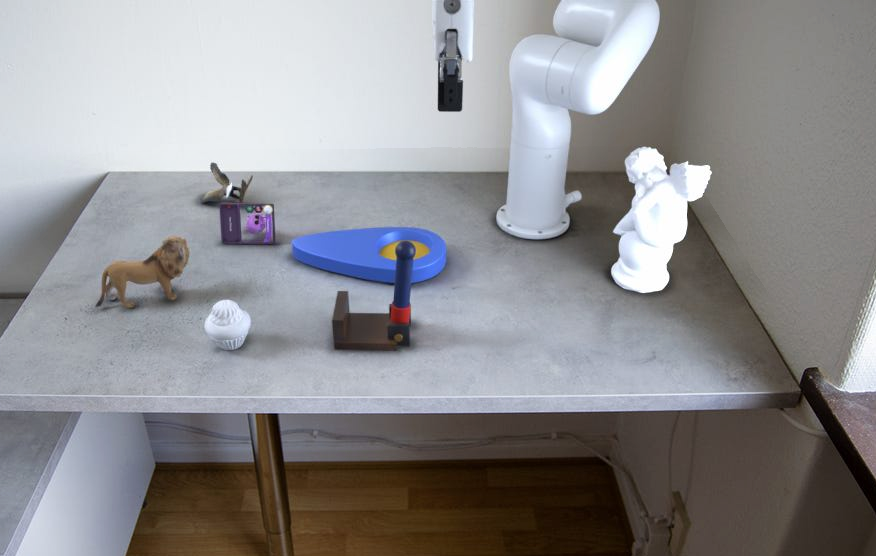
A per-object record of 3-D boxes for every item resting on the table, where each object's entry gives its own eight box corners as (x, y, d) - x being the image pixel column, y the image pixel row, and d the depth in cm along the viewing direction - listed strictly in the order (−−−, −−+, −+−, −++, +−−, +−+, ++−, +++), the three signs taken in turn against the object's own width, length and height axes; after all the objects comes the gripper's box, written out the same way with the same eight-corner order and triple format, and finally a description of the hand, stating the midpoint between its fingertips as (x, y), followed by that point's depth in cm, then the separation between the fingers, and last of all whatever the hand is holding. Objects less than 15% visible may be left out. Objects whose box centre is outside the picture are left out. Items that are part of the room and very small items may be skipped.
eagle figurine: (258, 186, 143) (215, 171, 145) (249, 166, 136) (204, 151, 138) (240, 221, 141) (196, 206, 142) (230, 203, 134) (184, 187, 135)
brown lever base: (411, 320, 111) (410, 291, 108) (409, 350, 105) (409, 321, 102) (339, 319, 111) (337, 290, 108) (334, 349, 105) (331, 320, 102)
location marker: (282, 278, 120) (440, 288, 117) (279, 259, 118) (440, 269, 115) (305, 236, 131) (451, 244, 127) (303, 218, 129) (451, 226, 125)
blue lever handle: (416, 237, 100) (396, 236, 100) (416, 248, 98) (395, 246, 98) (409, 320, 108) (390, 319, 108) (408, 332, 106) (389, 330, 106)
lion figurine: (192, 277, 120) (182, 226, 115) (200, 294, 116) (190, 243, 111) (94, 301, 115) (78, 249, 110) (98, 319, 111) (82, 267, 106)
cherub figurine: (598, 263, 123) (618, 133, 110) (668, 252, 126) (696, 124, 113) (634, 305, 113) (661, 168, 101) (709, 293, 116) (744, 158, 103)
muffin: (204, 336, 108) (196, 295, 104) (247, 325, 110) (241, 285, 106) (213, 362, 103) (205, 320, 99) (258, 350, 105) (252, 308, 101)
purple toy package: (217, 203, 126) (272, 204, 126) (226, 199, 131) (279, 200, 131) (220, 244, 128) (274, 245, 127) (228, 238, 133) (280, 239, 132)
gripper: (486, -22, 88) (479, 122, 97) (479, -52, 102) (474, 76, 112) (420, -22, 88) (420, 121, 98) (423, -52, 102) (423, 76, 112)
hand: (449, 97), depth 105 cm, fingers open, 9 cm apart
